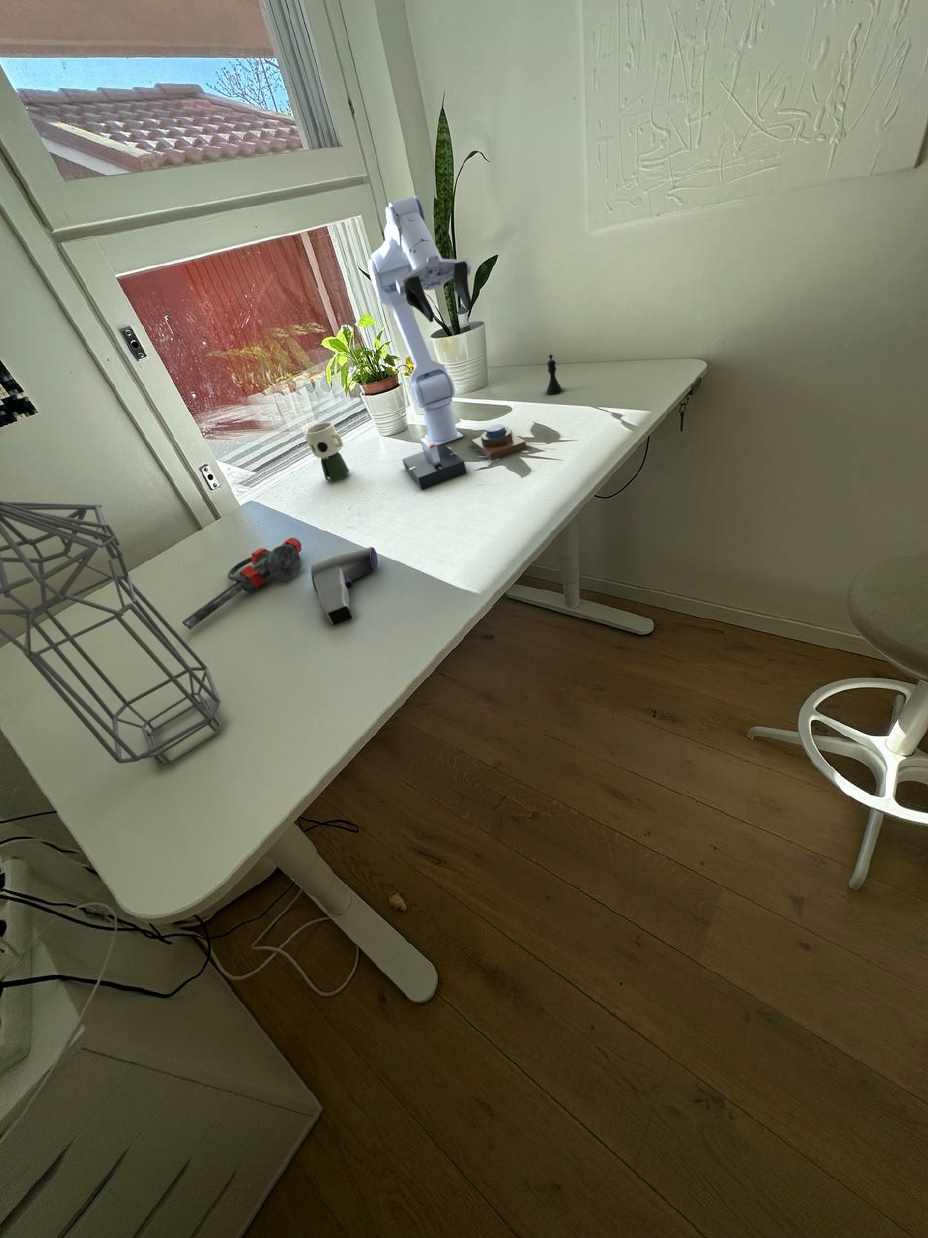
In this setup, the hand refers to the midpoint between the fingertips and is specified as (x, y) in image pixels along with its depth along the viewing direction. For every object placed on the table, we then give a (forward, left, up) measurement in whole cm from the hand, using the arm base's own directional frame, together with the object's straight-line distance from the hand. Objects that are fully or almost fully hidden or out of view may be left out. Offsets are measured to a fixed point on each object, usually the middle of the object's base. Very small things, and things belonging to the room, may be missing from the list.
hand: (450, 311), depth 97 cm
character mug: (-27, -30, -32) cm, 51 cm away
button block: (-10, +8, -32) cm, 34 cm away
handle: (-8, -9, -29) cm, 31 cm away
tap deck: (-9, -9, -32) cm, 34 cm away
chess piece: (-34, +36, -32) cm, 59 cm away
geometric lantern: (+46, -64, -32) cm, 85 cm away
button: (-10, +8, -29) cm, 31 cm away
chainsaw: (+12, -55, -32) cm, 65 cm away
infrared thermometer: (+28, -36, -32) cm, 56 cm away
